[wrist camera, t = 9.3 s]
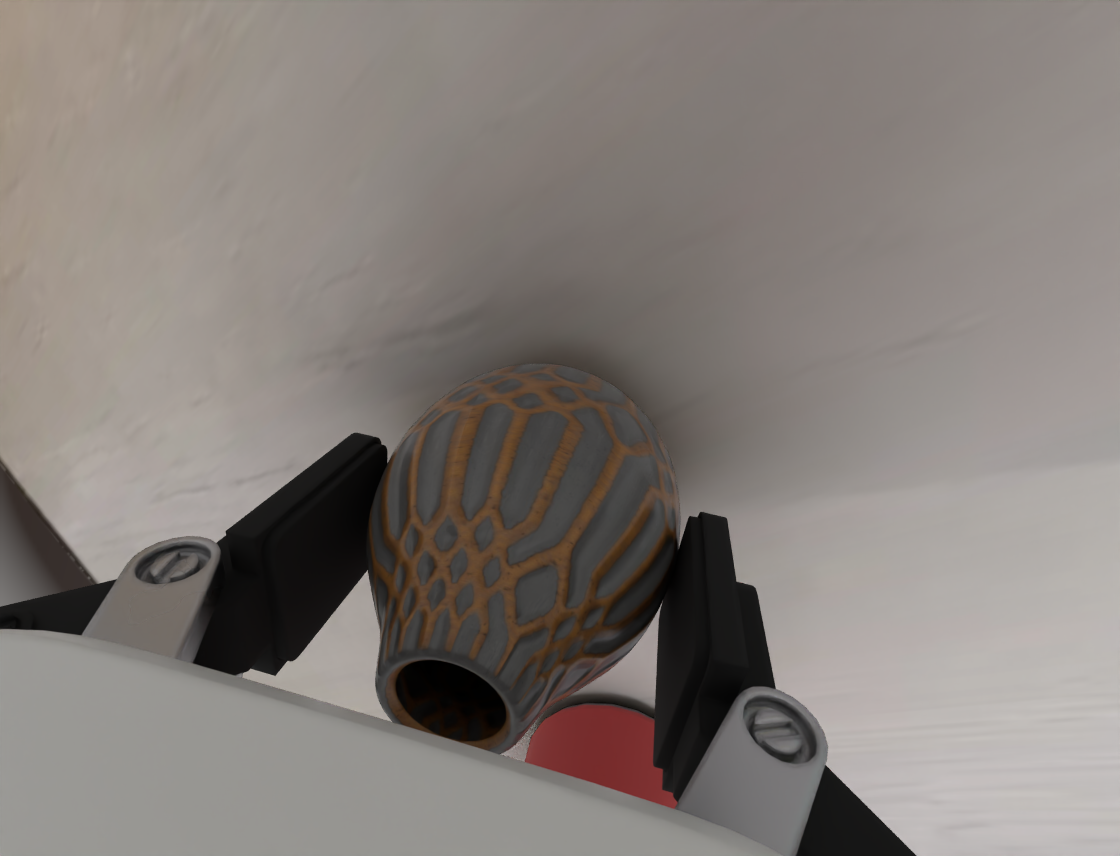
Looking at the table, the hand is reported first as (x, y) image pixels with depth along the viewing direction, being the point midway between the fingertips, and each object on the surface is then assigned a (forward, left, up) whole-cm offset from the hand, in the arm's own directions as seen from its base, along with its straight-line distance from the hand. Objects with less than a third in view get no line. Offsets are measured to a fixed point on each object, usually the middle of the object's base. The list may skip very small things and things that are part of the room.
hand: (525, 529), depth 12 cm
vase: (0, 0, -4) cm, 4 cm away
